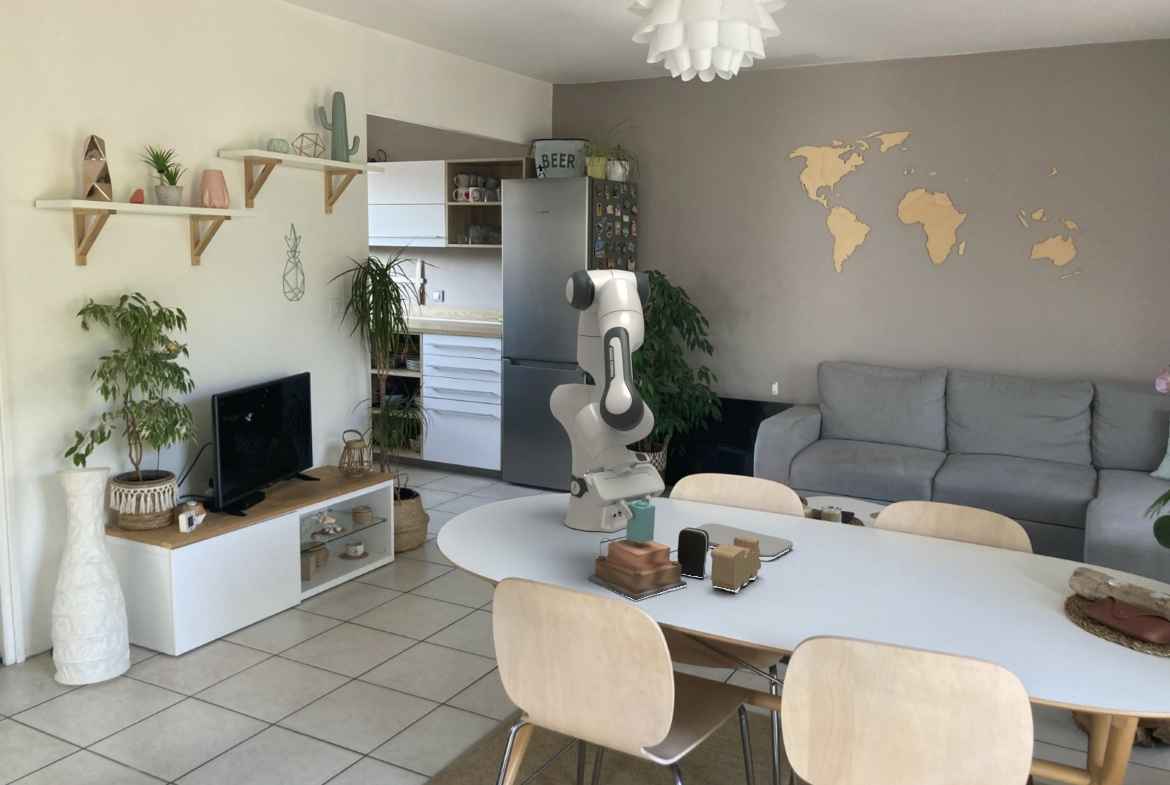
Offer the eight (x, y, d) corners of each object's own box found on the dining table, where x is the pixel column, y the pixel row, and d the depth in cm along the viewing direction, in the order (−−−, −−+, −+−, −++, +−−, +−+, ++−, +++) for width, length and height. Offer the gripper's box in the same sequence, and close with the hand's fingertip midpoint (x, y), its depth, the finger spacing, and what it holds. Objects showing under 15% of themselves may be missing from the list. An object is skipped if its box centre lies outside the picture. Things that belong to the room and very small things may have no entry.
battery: (708, 575, 224) (711, 529, 223) (703, 580, 221) (706, 533, 219) (680, 570, 227) (683, 524, 226) (675, 574, 224) (678, 528, 222)
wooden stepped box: (638, 567, 228) (640, 530, 227) (686, 587, 216) (688, 548, 214) (588, 580, 218) (590, 541, 216) (635, 601, 206) (637, 561, 204)
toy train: (760, 577, 225) (763, 537, 223) (730, 597, 211) (733, 555, 209) (738, 572, 228) (741, 532, 226) (708, 592, 214) (710, 549, 212)
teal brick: (640, 535, 218) (642, 499, 217) (653, 540, 215) (655, 503, 214) (626, 538, 215) (628, 501, 214) (639, 543, 212) (641, 506, 211)
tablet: (709, 529, 263) (709, 522, 263) (796, 550, 248) (796, 542, 248) (679, 542, 250) (680, 534, 250) (769, 565, 235) (770, 556, 235)
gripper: (587, 463, 212) (614, 516, 206) (652, 453, 225) (679, 503, 219) (574, 478, 216) (600, 530, 210) (639, 468, 229) (665, 516, 223)
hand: (641, 516), depth 214 cm, fingers closed on teal brick, 4 cm apart
